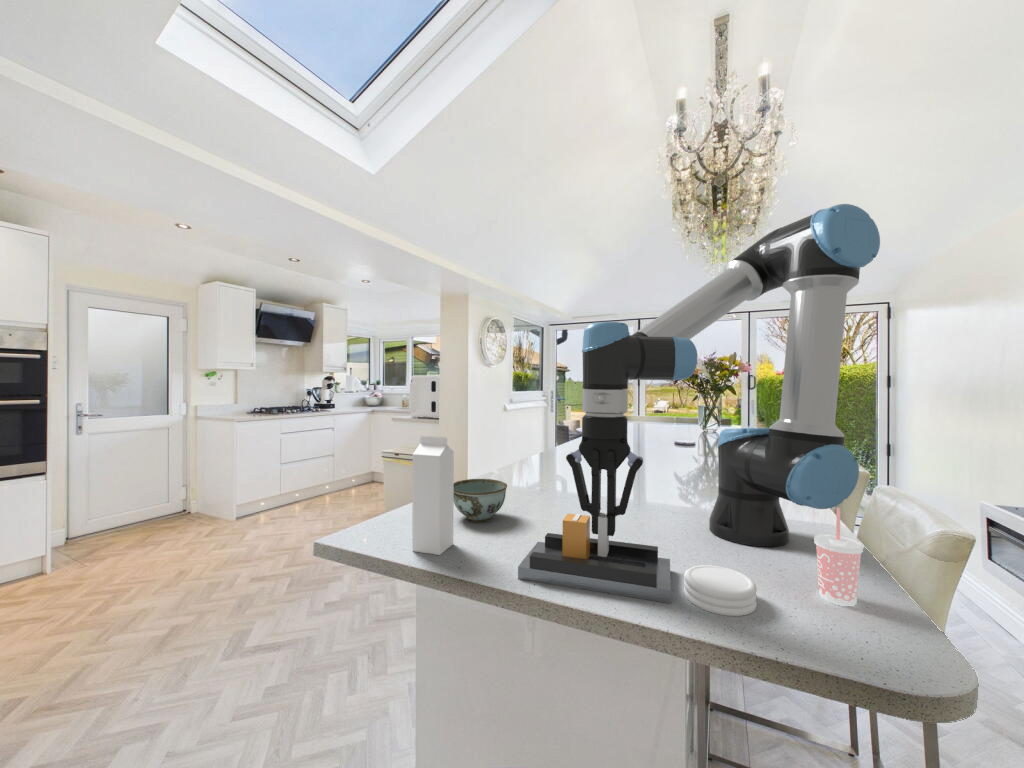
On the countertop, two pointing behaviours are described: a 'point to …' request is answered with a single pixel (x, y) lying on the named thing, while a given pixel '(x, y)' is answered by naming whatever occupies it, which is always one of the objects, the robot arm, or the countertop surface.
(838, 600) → the beverage cup
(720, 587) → the coaster
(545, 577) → the panel
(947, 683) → the countertop surface
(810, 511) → the countertop surface
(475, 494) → the bowl
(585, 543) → the lever
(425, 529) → the milk
